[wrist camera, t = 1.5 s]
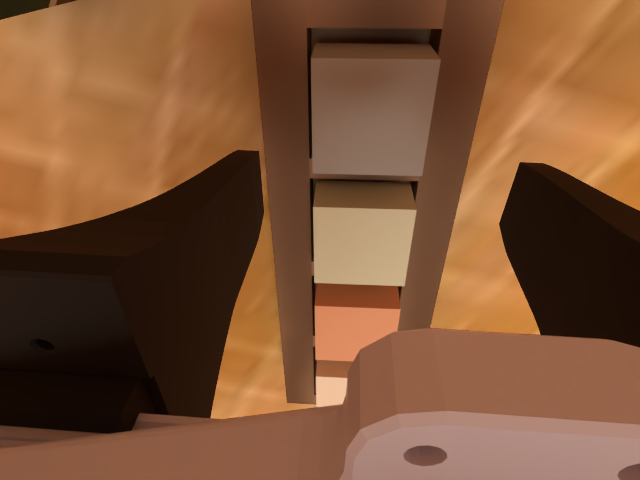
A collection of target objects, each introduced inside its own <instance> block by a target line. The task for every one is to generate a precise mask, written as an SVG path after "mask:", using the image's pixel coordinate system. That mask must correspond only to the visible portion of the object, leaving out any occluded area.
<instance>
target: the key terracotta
mask: <svg viewBox="0 0 640 480" xmlns="http://www.w3.org/2000/svg"><path fill="white" fill-rule="evenodd" d="M400 311H401V307H400V300H399V292H398V286H383V285H356V284H329V283H317V287H316V297H315V357H316V360H332V361H354V359H355V358H356V356H357V354H358V352H359V350H360V349H362V348H364V347H366V346H367V345H369V344H371V343H373V342H375V341H377V340H379V339H381V338H383V337H385V336H386V335H388V334H390V333H392V332H397V330H398V324H399V317H400Z"/></svg>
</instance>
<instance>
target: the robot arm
mask: <svg viewBox="0 0 640 480" xmlns="http://www.w3.org/2000/svg"><path fill="white" fill-rule="evenodd" d="M263 214H264V206H263V194H262V182H261V170H260V158H259V151H247V150H237V151H235V152H233V153H231V154H229V155H227V156H226V157H224V158H223V159H221V160H220V161H218V162H216V163H215V164H213V165H212V166H210V167H209V168H207V169H206V170H204V171H202V172H201V173H199V174H198V175H196V176H194V177H192V178H191V179H189V180H187V181H185V182H184V183H182V184H180V185H178V186H177V187H175V188H173V189H171V190H169V191H167V192H165V193H163V194H161V195H159V196H157V197H155V198H152V199H150V200H148V201H145V202H143V203H141V204H138V205H136V206H133V207H130V208H127V209H125V210H122V211H119V212H116V213H113V214H110V215H107V216H104V217H101V218H98V219H94V220H90V221H87V222H83V223H79V224H75V225H71V226H67V227H63V228H58V229H54V230H49V231H44V232H38V233H32V234H27V235H21V236H15V237H10V238H3V239H0V480H640V211H639V210H637V209H634V208H632V207H630V206H628V205H626V204H624V203H622V202H620V201H618V200H616V199H614V198H612V197H610V196H608V195H606V194H604V193H603V192H601V191H599V190H597V189H595V188H593V187H591V186H589V185H588V184H586V183H584V182H582V181H580V180H578V179H576V178H574V177H572V176H571V175H569V174H567V173H565V172H563V171H561V170H559V169H556V168H554V167H552V166H549V165H547V164H544V163H524V162H520V164H519V167H518V170H517V173H516V176H515V179H514V181H513V184H512V187H511V190H510V193H509V196H508V199H507V202H506V205H505V208H504V211H503V214H502V217H501V220H500V223H499V225H500V230H501V234H502V238H503V242H504V246H505V250H506V253H507V256H508V258H509V260H510V263H511V265H512V267H513V270H514V272H515V274H516V277H517V279H518V281H519V283H520V286H521V288H522V290H523V292H524V294H525V297H526V299H527V301H528V303H529V306H530V308H531V310H532V312H533V315H534V317H535V320H536V322H537V325H538V328H539V331H540V334H541V335H532V334H516V333H500V332H485V331H469V330H453V329H437V328H425V329H416V330H407V331H397V332H392V333H390V334H388V335H386V336H385V337H383V338H381V339H379V340H377V341H375V342H373V343H371V344H369V345H367V346H366V347H364V348H362V349H360V350H359V352H358V354H357V356H356V358H355V359H354V361H353V363H352V365H351V367H350V368H349V370H348V376H347V387H346V395H345V398H344V401H343V404H339V405H331V406H323V407H315V408H308V409H300V410H292V411H284V412H276V413H268V414H260V415H252V416H244V417H236V418H229V419H211V418H210V416H211V411H212V405H213V400H214V395H215V390H216V385H217V380H218V375H219V370H220V365H221V361H222V356H223V352H224V347H225V343H226V338H227V334H228V330H229V325H230V321H231V317H232V313H233V309H234V306H235V303H236V300H237V296H238V294H239V291H240V288H241V286H242V283H243V280H244V278H245V275H246V272H247V269H248V267H249V264H250V261H251V259H252V256H253V253H254V250H255V248H256V245H257V242H258V239H259V234H260V230H261V225H262V220H263Z"/></svg>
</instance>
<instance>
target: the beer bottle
mask: <svg viewBox="0 0 640 480" xmlns="http://www.w3.org/2000/svg"><path fill="white" fill-rule="evenodd" d="M72 1H76V0H0V20H1V19H5V18H9V17H13V16H17V15H21V14H25V13H28V12H32V11H36V10H40V9H44V8H48V7H52V6H56V5H60V4H64V3H68V2H72Z"/></svg>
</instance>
